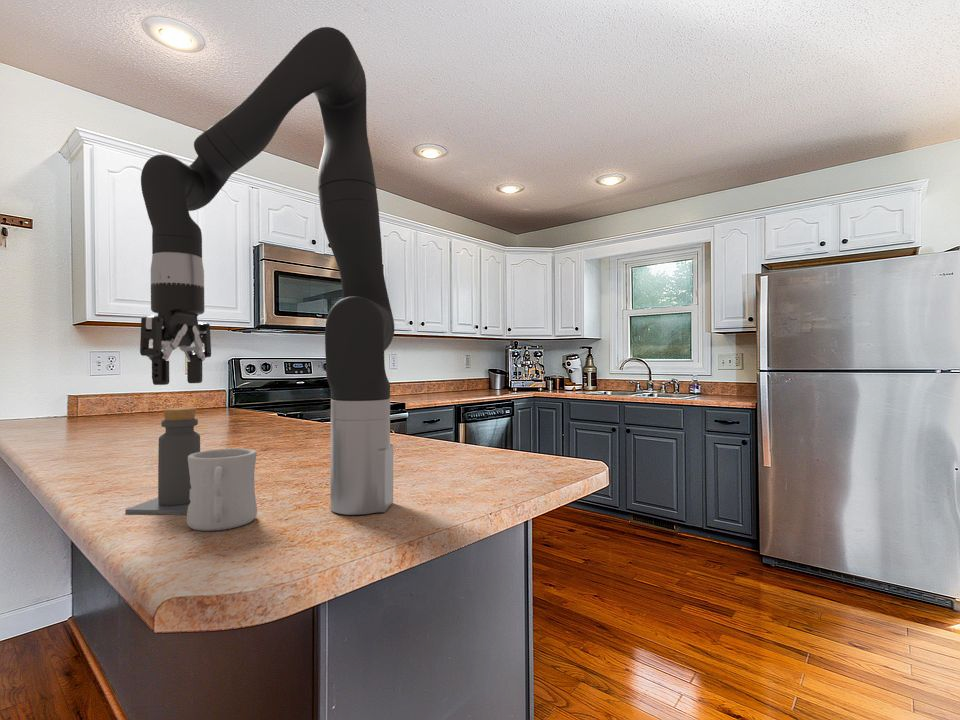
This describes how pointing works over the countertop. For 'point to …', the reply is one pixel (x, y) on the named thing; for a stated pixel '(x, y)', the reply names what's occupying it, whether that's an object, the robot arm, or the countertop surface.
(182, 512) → the coaster
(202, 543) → the countertop surface
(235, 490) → the mug
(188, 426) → the bottle
